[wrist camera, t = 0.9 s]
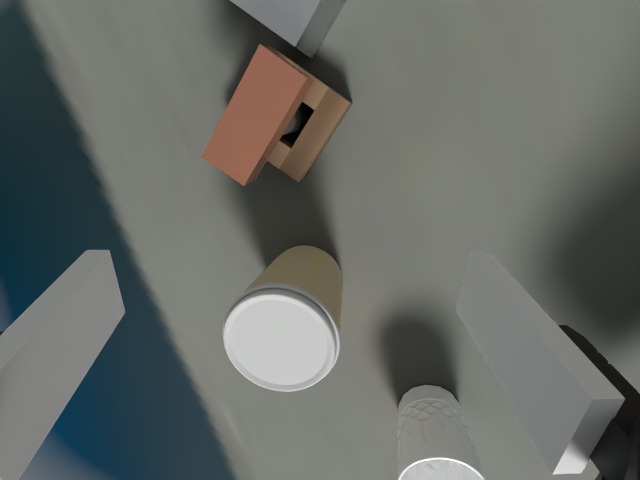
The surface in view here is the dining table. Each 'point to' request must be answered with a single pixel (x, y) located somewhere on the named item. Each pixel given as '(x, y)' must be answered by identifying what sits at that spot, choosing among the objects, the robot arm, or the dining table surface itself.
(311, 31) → the block
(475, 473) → the white cup
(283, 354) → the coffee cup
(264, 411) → the dining table surface
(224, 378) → the dining table surface
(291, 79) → the block
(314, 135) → the wooden square frame
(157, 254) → the dining table surface
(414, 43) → the dining table surface
